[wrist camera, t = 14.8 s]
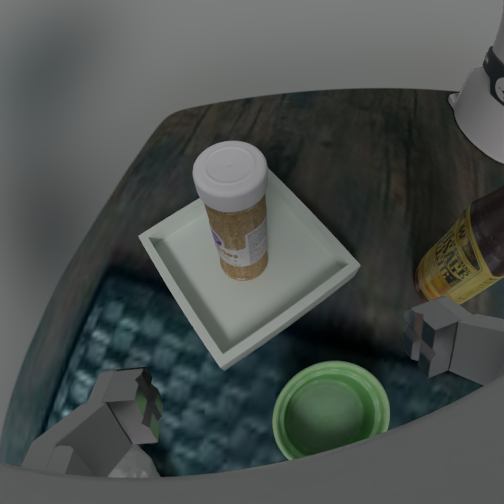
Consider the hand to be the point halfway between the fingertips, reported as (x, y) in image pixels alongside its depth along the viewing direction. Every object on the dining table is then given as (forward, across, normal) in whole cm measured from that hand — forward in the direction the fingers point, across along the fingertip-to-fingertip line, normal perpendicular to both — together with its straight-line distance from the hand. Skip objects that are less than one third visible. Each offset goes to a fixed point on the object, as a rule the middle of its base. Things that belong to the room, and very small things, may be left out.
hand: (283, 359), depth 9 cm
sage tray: (+22, 0, +5) cm, 23 cm away
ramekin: (+11, -4, +16) cm, 20 cm away
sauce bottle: (+17, -18, +10) cm, 27 cm away
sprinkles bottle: (+22, 0, +4) cm, 22 cm away
